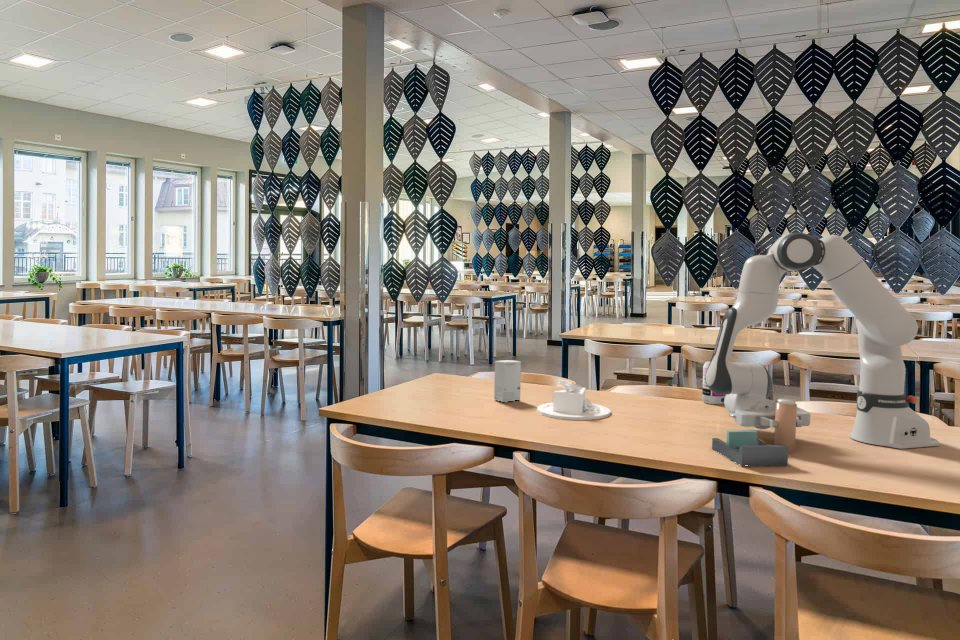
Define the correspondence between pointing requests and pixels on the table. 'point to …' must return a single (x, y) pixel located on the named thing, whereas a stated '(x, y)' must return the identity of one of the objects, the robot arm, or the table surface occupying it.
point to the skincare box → (507, 380)
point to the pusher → (741, 438)
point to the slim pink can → (786, 423)
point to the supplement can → (707, 393)
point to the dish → (572, 405)
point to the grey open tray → (753, 453)
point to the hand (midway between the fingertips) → (787, 424)
